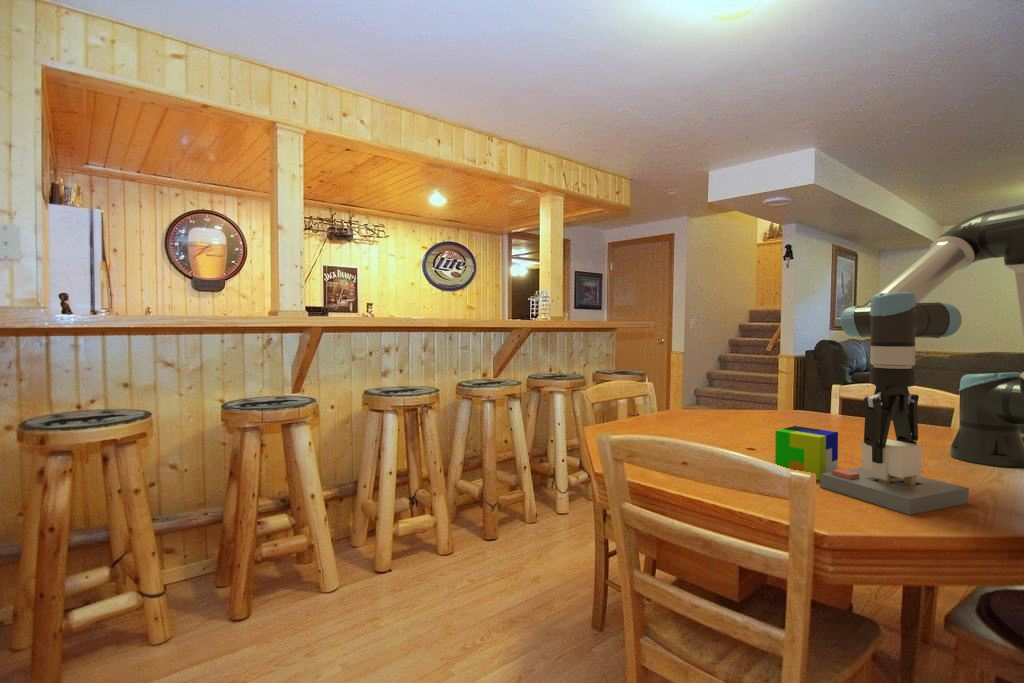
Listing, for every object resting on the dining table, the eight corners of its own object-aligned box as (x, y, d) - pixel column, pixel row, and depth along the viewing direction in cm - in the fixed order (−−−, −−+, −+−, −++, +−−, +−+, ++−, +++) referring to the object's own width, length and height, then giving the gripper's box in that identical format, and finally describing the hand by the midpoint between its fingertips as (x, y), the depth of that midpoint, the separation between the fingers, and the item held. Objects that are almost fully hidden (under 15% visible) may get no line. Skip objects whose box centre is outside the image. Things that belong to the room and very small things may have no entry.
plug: (880, 478, 110) (880, 437, 110) (921, 489, 103) (921, 445, 102) (861, 481, 108) (862, 439, 108) (901, 492, 100) (902, 447, 100)
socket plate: (875, 478, 117) (875, 461, 117) (968, 502, 100) (968, 483, 100) (820, 487, 110) (820, 469, 110) (909, 515, 94) (909, 493, 94)
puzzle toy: (837, 473, 121) (838, 432, 121) (819, 480, 116) (819, 437, 115) (794, 464, 129) (794, 425, 129) (775, 471, 124) (775, 430, 123)
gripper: (902, 364, 112) (901, 467, 112) (842, 366, 105) (841, 476, 105) (941, 366, 104) (940, 476, 105) (880, 369, 98) (878, 487, 98)
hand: (890, 476), depth 105 cm, fingers closed on plug, 6 cm apart
